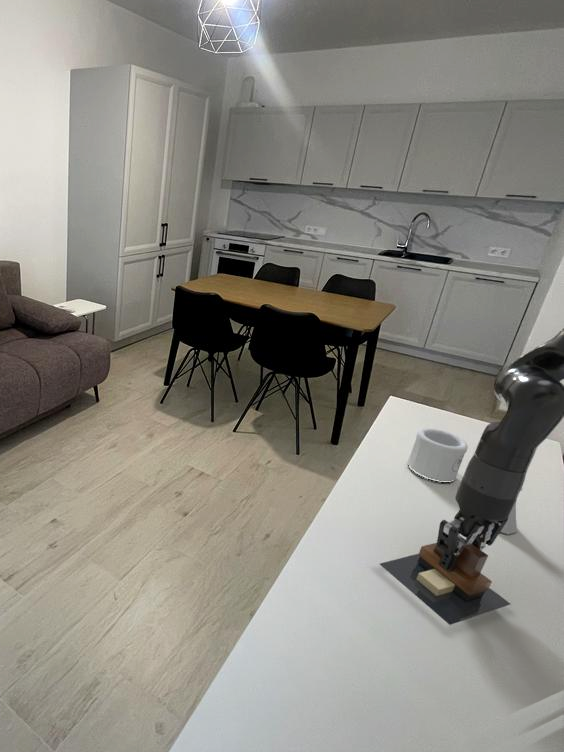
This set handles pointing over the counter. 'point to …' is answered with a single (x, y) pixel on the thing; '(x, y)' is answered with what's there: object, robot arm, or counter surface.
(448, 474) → the mug
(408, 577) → the slate tile
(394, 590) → the counter surface
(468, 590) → the brush
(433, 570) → the felt pad
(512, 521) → the flask
